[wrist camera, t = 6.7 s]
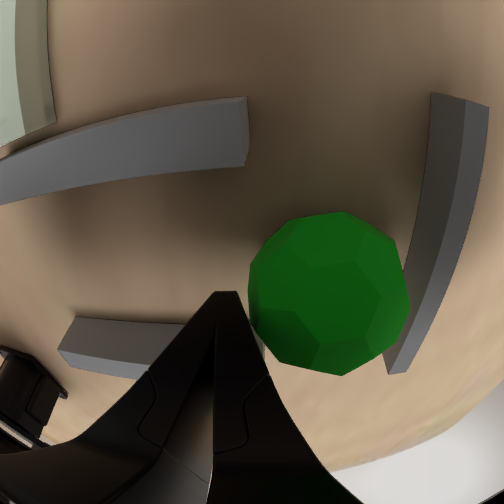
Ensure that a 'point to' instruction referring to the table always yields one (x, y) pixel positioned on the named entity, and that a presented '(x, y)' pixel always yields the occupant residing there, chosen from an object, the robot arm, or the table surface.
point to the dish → (24, 69)
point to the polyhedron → (328, 293)
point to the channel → (234, 155)
